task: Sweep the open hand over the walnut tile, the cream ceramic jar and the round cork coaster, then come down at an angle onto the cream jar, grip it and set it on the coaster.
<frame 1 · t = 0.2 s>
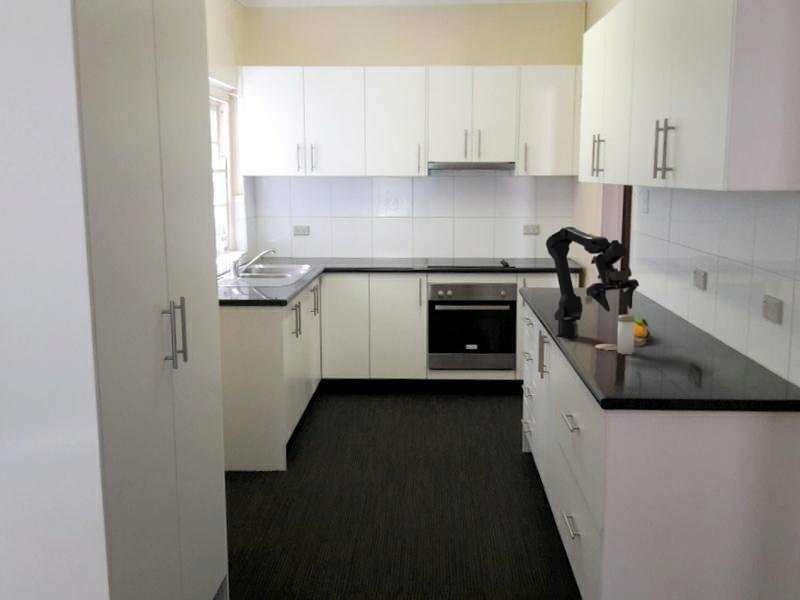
hand: (620, 310, 288), 15 cm above the counter, tool tilted 30°, fingers open, 9 cm apart
coaster: (608, 347, 297), on the counter
tile: (634, 344, 302), on the counter
jar: (625, 352, 289), on the counter
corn: (639, 339, 311), on the counter, touching tile
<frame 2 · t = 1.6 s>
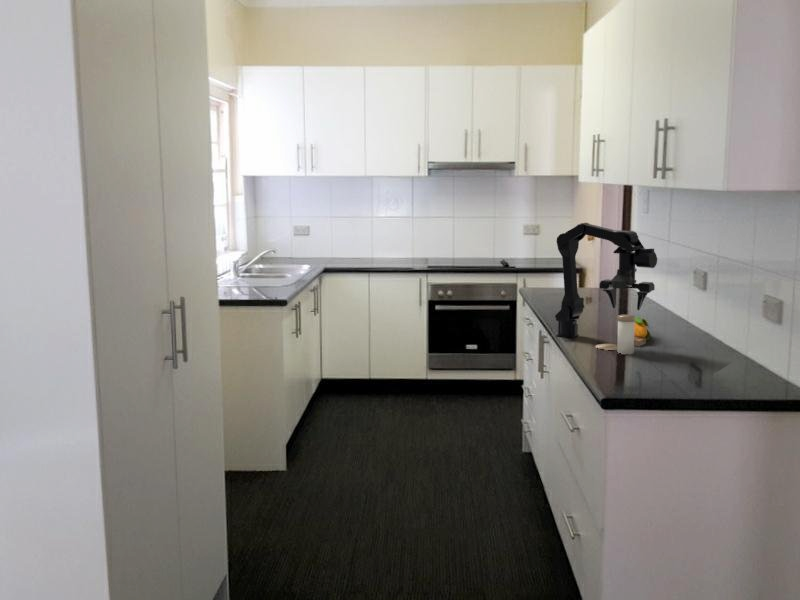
hand: (626, 309, 299), 13 cm above the counter, tool pointing down, fingers open, 9 cm apart
nothing on the counter moved.
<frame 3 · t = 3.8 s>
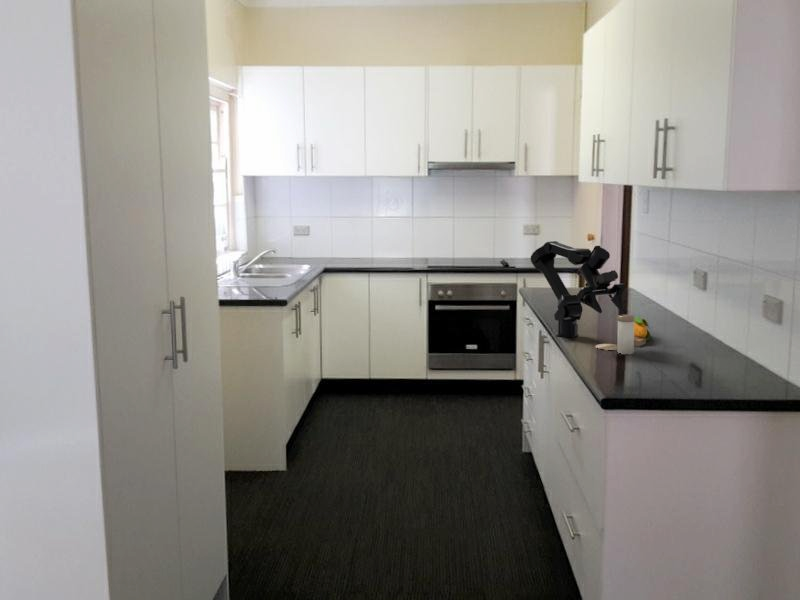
hand: (611, 311, 294), 13 cm above the counter, tool tilted 45°, fingers open, 9 cm apart
nothing on the counter moved.
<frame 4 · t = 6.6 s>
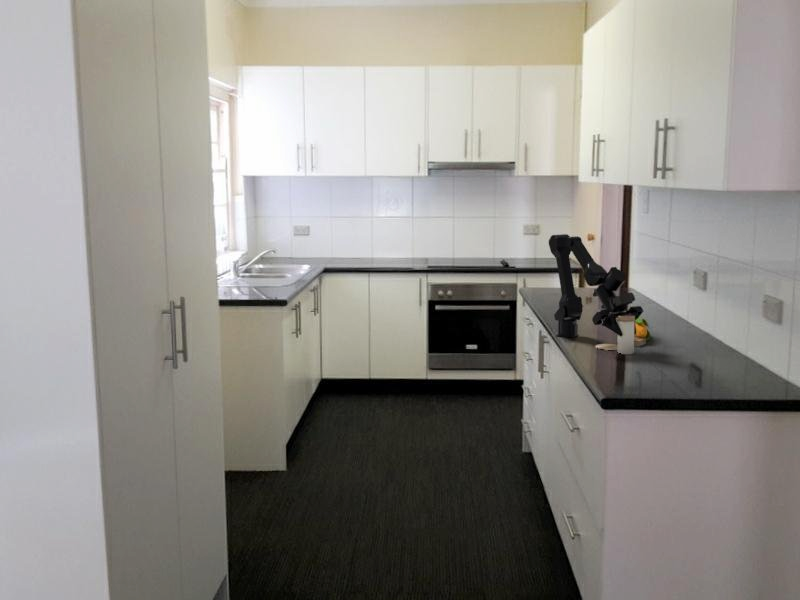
hand: (628, 334, 287), 7 cm above the counter, tool tilted 45°, fingers closed on jar, 6 cm apart
jar: (625, 352, 289), on the counter, touching gripper
everything else where it was.
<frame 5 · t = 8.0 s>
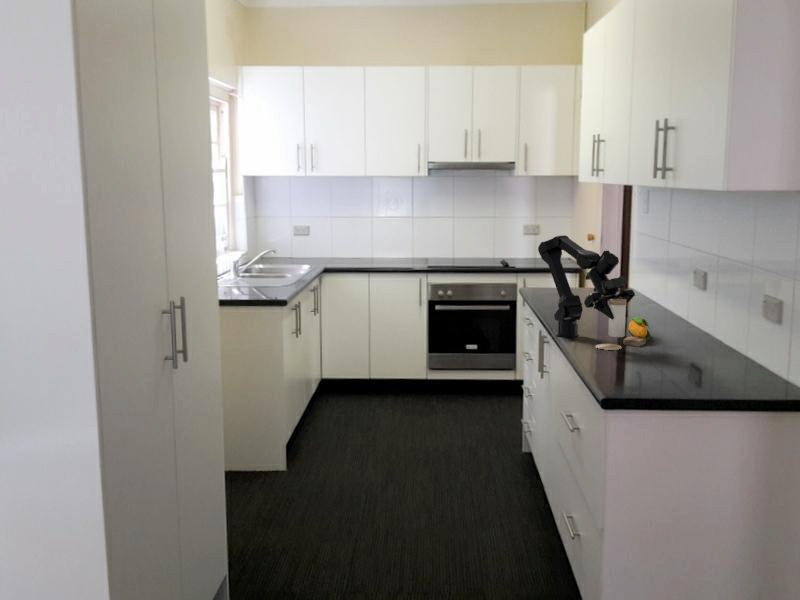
hand: (619, 317, 290), 12 cm above the counter, tool tilted 45°, fingers closed on jar, 6 cm apart
jar: (616, 335, 293), point 5 cm above the counter, touching gripper
everything else where it was.
when the fingers open (8 cm above the counter, at t = 9.8 s): jar drops 1 cm, resting on coaster.
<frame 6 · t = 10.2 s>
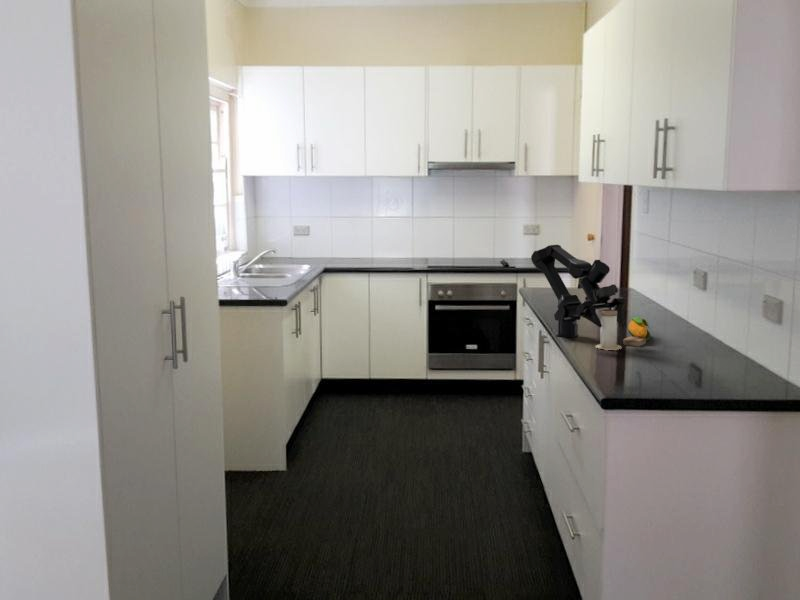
hand: (611, 325, 294), 8 cm above the counter, tool tilted 45°, fingers open, 9 cm apart
jar: (608, 346, 297), point 1 cm above the counter, touching coaster
everything else where it was.
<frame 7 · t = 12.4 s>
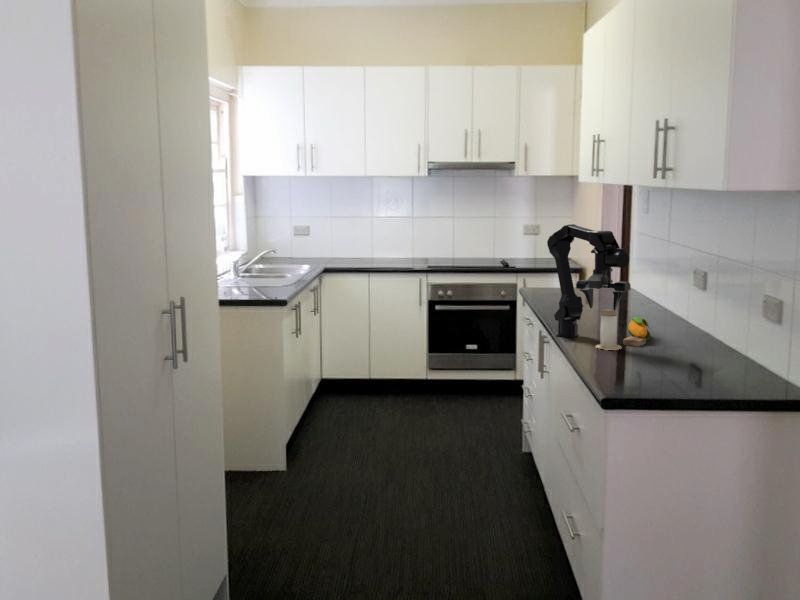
hand: (602, 309, 300), 13 cm above the counter, tool pointing down, fingers open, 9 cm apart
jar: (608, 346, 297), resting on coaster, touching gripper
everything else where it was.
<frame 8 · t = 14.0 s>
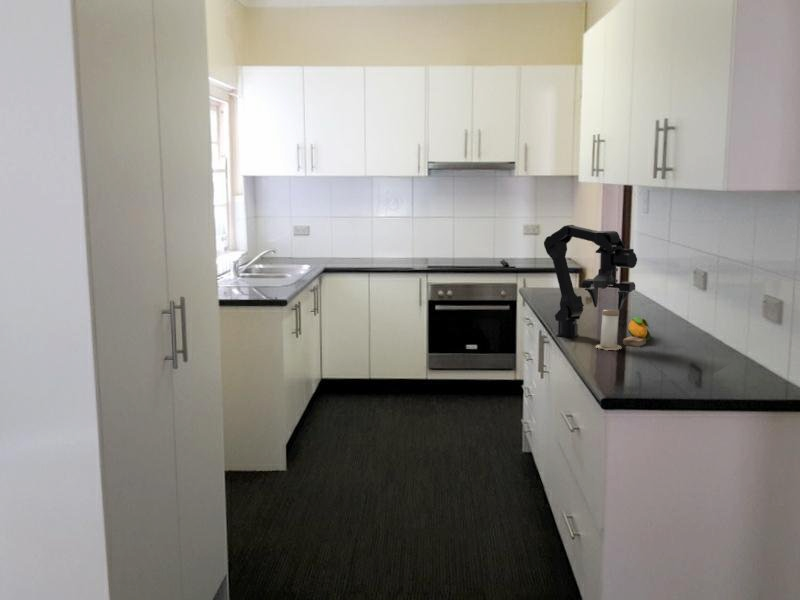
hand: (607, 308, 303), 13 cm above the counter, tool pointing down, fingers open, 9 cm apart
jar: (608, 346, 297), point 1 cm above the counter, touching coaster
everything else where it was.
at the end: jar inside the target area on the coaster (0.2 cm from its centre), point 0.6 cm above the coaster's base; jar tilted 2°; the gripper is holding nothing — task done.
